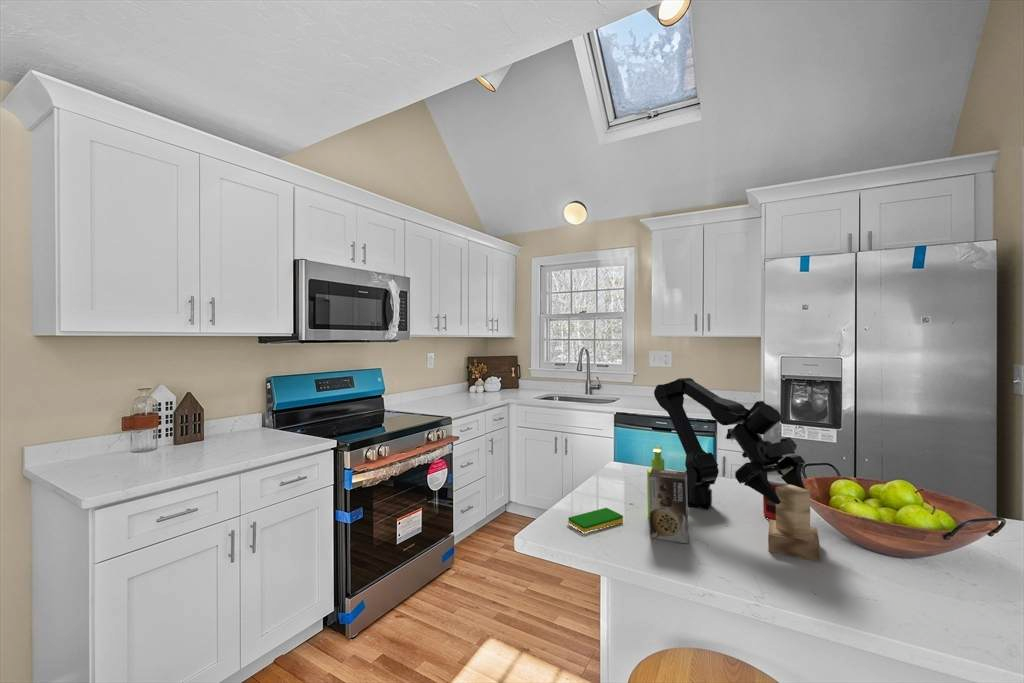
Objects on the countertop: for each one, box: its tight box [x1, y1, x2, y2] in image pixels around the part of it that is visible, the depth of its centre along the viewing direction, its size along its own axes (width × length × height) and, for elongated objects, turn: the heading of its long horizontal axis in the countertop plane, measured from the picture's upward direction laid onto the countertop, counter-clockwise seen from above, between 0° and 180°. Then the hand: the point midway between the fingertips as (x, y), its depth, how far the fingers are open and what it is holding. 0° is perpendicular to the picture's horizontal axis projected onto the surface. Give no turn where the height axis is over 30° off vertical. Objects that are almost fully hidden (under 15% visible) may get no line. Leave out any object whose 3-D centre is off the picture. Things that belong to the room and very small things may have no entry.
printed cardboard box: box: [648, 468, 690, 544], centre depth 114 cm, size 9×6×16 cm
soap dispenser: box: [646, 445, 666, 519], centre depth 125 cm, size 6×7×20 cm
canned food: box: [762, 474, 788, 520], centre depth 124 cm, size 8×8×11 cm
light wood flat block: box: [767, 519, 821, 563], centre depth 107 cm, size 10×10×4 cm
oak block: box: [776, 484, 811, 537], centre depth 107 cm, size 5×5×10 cm
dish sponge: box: [567, 507, 624, 532], centre depth 122 cm, size 7×14×2 cm, turn 119°
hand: (792, 500), depth 107 cm, fingers open, 9 cm apart
